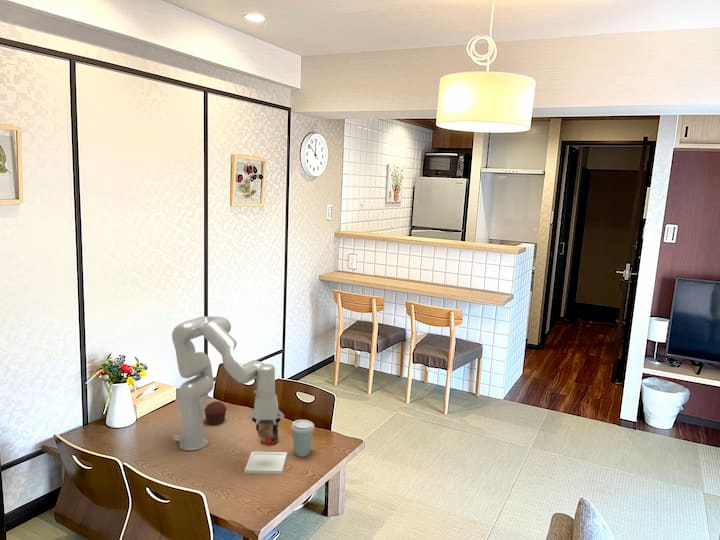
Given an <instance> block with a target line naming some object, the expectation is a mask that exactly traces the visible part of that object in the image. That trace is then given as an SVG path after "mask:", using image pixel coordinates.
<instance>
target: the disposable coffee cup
mask: <svg viewBox="0 0 720 540" xmlns="http://www.w3.org/2000/svg"><path fill="white" fill-rule="evenodd" d="M290 429H291V433H292V440H293V447H294V449H293V450H294V454H295V455H296V456H298V457H306V456H307V457H308V455H309V454H310V451H311V445H312V440H313V436H314V435H313V434H314V430H315V424H314V422H312V421H310V420H308V419H296V420H294V421H292V424H291V427H290Z"/></svg>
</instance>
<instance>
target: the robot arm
mask: <svg viewBox="0 0 720 540" xmlns="http://www.w3.org/2000/svg"><path fill="white" fill-rule="evenodd" d="M231 330H232V323H230V321H229V320H228V319H227V318H225V317H223V316H204V315H203V316H199V317H196V318H193V319H189V320H185V321H184V322H181V323H179V324H177V325H176V326H175V327H174V328H173V330H172V333H171V340H172V343H173V347H174V349H175V356H176V362H177V369H178V372H179V375H180V377H182V378H184V379H188V380H186V381H185V382H183V383H181V385H180V386H179V389H178V396H179V400H180V407H181V428H182V429H181V430H182V434H181V435H180V434H179V435H178V434H175V435H173V440H174V442H179V444H178V445H179V446H178V447H179V448H180V449H181V450H182V451H188V452H189V451H190V452H193V451H198V450H201V449H203V448H205V447H206V446H207V445H208V440H207V438H205V436H204V406H203V404H202V403H201V400H200V398H202V397H204V396H206V395H208V394H209V393H211V391H213V389H214V386H215V384H214V383H215V381H214V380H215V379H214V375H213V368H212V362H211V359H210V357H209V356H208V354H206V353H205V352H204V351H203V352H202V351H199V352H196V347H195V345H194V343H193V341H192V339H196V338H199V337H201V336H202V337H204V339H206V340H207V341H208V342H209V344H211V346H212V347H213V348H215V350H217V352H218V353H219V354H220V355H221V357H222V364H223V367H224V369H225V371H226V372H227V374H228V375H229V376H231V378H233V380H234V381H236V382H237V383H239V384H243V385H244V384H248V383H249V382H251V381H252V380H255V379H257V381H256V384H257V386H256V389H254V390H253V393H254V394H256V395H255V398H254V403H253V405H254V406H253V409H252V411H251V412H250V413H249V414H248V418H249V419H250V420H251V421H252V422H253V423H254V424H255V426H256V427H255V429H256V430H255V431H257V432H258V424H259V421H260V420H272V421H273V434H275V431H277V423H278V424H279V423H280V422H281V421H282V420H283V419H284V418H285V414H284V413H283V412H282V411H281V410H280V409H279V403H278V397H277V394H276V368H275V365H273V364H272V363H271V364H270V363H265V362H262V361H259V360H254V359H253V360H251V361H249V362H246V363H244V364H240V362H239V361H238V360H237V359H236V357H235V355H234V350H235V349H236V347H237V344H238V343H237V340H236V339H235V338H234V337H233V336H232V335H230V332H231ZM190 378H191V379H190Z"/></svg>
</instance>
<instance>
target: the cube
mask: <svg viewBox="0 0 720 540" xmlns="http://www.w3.org/2000/svg"><path fill="white" fill-rule="evenodd" d="M257 434H258V436H257V437H258V438H261V437H273V421H272V420H259V424H258V431H257Z"/></svg>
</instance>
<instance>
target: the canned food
mask: <svg viewBox="0 0 720 540" xmlns="http://www.w3.org/2000/svg"><path fill="white" fill-rule="evenodd" d="M260 438H261V442H262V444H263V445H268V446H271V444H272V445H274V444H277V443H278V441H279V422H278V423H277V431H275V434H273V437H260Z"/></svg>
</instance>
